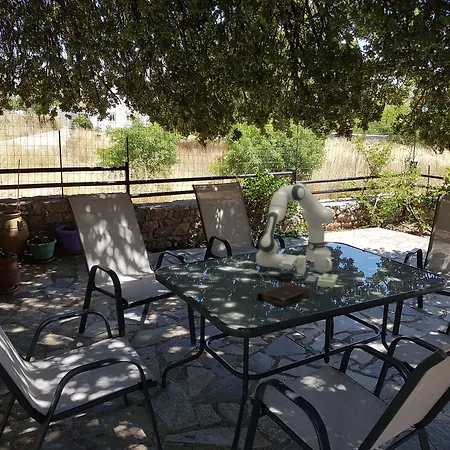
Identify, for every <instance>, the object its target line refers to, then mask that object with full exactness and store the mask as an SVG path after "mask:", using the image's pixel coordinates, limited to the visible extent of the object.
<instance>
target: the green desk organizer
mask: <svg viewBox="0 0 450 450" xmlns="http://www.w3.org/2000/svg"><path fill="white" fill-rule="evenodd" d="M337 278H338V279H339V274H331V273H330V274H329V273H322V275H321V276H319V277H318V279H317V282H316V283H317V284H316V287H318V286H320V288H326V287H330V288H329V289H333V288H334V287H335V285H334V284H336V283H337V281H338V279H337ZM336 280H337V281H336ZM335 282H336V283H335ZM333 286H334V287H333Z"/></svg>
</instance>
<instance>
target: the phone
mask: <svg viewBox="0 0 450 450" xmlns="http://www.w3.org/2000/svg"><path fill="white" fill-rule="evenodd" d="M318 279H319V275H313V274H311V275H310V274H309V275H308V276H307V277H306V278H305V280H303V281H304V284H312V283H313V284H314V283H315V284H316V283H317V281H318ZM316 280H317V281H316ZM313 284H312V285H313Z"/></svg>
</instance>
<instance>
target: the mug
mask: <svg viewBox="0 0 450 450" xmlns="http://www.w3.org/2000/svg"><path fill="white" fill-rule="evenodd" d="M331 257H332V252H331V253H330V252H327V251H315V252H314V263H313V265H314V270H315V271H316V273H318V272H319V274H327V273H328V272H330V271H332V269H333V262H332V261H331ZM326 272H327V273H326Z"/></svg>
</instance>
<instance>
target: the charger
mask: <svg viewBox="0 0 450 450" xmlns="http://www.w3.org/2000/svg"><path fill="white" fill-rule="evenodd" d="M297 256H298V257H297V263H302V266H296V273H297V274H305V273H306V270H307V269H306V265H307V263H306V262H307V261H306V255H304V254H301V253H300V254H299V255H297Z"/></svg>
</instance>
